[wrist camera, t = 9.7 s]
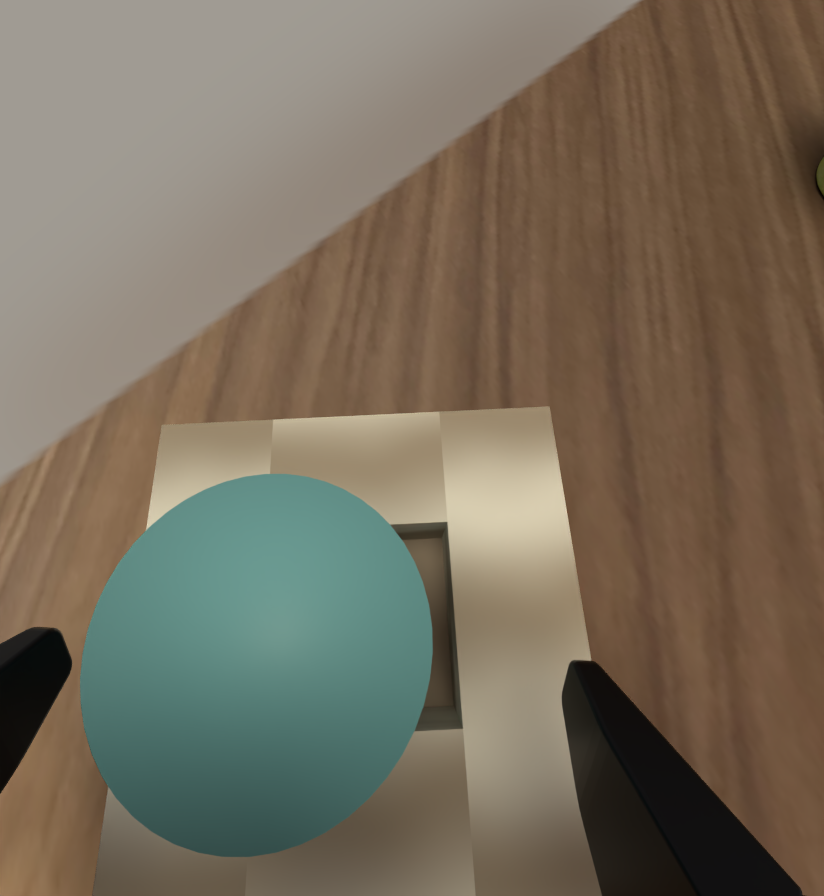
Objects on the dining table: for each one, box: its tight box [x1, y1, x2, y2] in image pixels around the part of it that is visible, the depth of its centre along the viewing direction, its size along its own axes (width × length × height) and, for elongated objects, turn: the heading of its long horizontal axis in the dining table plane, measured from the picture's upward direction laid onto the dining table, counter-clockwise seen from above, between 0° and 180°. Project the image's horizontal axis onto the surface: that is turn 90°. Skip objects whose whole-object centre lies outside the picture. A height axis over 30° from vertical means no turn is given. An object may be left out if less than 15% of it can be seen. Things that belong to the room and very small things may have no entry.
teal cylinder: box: [80, 474, 433, 857], centre depth 11 cm, size 4×4×13 cm
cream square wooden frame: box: [92, 407, 602, 896], centre depth 16 cm, size 14×14×4 cm
